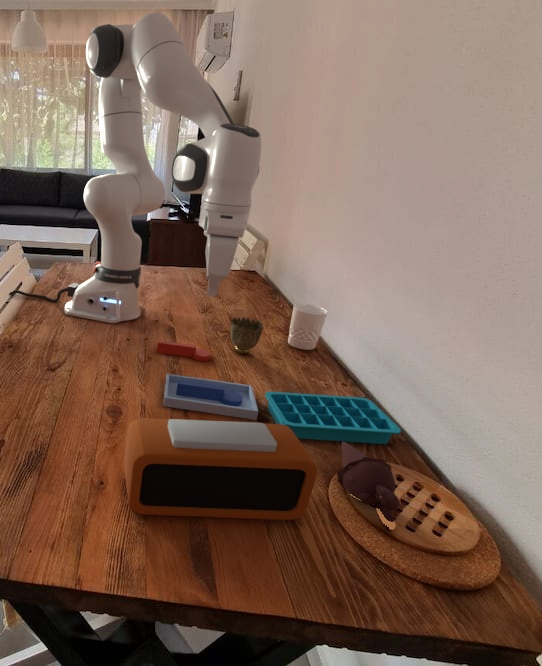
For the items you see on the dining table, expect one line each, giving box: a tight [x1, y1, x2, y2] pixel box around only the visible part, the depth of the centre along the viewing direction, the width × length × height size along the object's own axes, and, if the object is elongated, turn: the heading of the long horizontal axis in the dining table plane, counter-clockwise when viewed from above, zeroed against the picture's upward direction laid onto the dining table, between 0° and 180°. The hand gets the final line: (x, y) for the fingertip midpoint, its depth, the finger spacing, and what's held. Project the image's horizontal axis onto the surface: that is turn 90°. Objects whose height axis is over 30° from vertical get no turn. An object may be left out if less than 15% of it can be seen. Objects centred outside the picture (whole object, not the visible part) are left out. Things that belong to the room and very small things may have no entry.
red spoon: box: [156, 340, 212, 362], centre depth 109 cm, size 13×4×3 cm, turn 78°
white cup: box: [287, 303, 329, 351], centre depth 117 cm, size 8×8×10 cm
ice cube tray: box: [264, 391, 402, 445], centre depth 84 cm, size 12×20×3 cm, turn 87°
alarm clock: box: [123, 417, 318, 521], centre depth 63 cm, size 24×8×11 cm, turn 90°
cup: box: [230, 317, 265, 355], centre depth 111 cm, size 8×7×8 cm
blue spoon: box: [176, 380, 243, 407], centre depth 90 cm, size 13×4×3 cm, turn 78°
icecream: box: [336, 441, 401, 532], centre depth 66 cm, size 7×7×15 cm
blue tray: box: [162, 373, 259, 421], centre depth 90 cm, size 17×10×2 cm, turn 78°
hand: (210, 288), depth 92 cm, fingers open, 8 cm apart
